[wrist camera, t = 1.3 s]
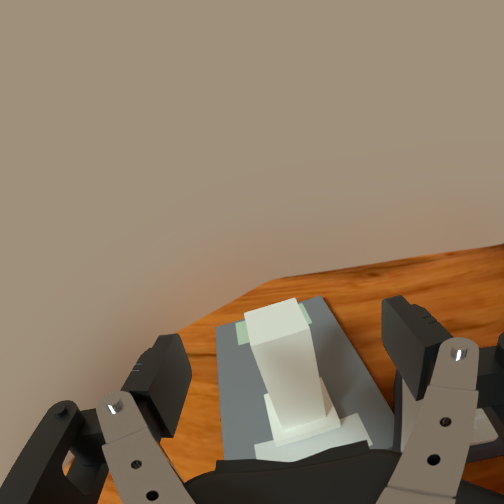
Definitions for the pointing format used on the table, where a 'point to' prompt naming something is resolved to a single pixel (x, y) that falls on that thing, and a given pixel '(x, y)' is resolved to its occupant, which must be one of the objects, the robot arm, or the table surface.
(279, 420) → the switch slider
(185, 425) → the table surface
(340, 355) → the switch panel
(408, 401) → the calculator
